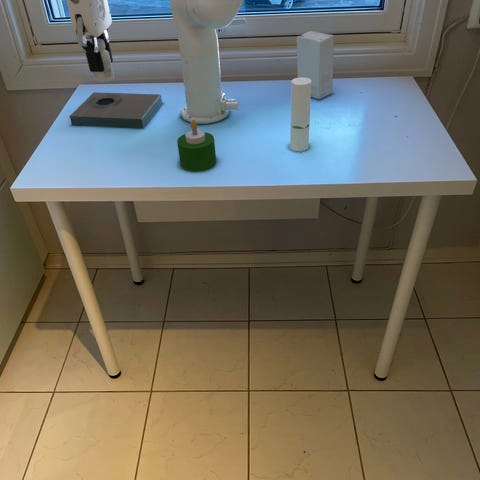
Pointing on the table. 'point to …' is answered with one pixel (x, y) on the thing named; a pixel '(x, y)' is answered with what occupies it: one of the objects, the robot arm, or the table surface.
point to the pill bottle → (108, 72)
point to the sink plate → (116, 110)
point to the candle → (196, 149)
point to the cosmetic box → (316, 61)
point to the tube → (300, 113)
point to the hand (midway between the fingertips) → (101, 65)
